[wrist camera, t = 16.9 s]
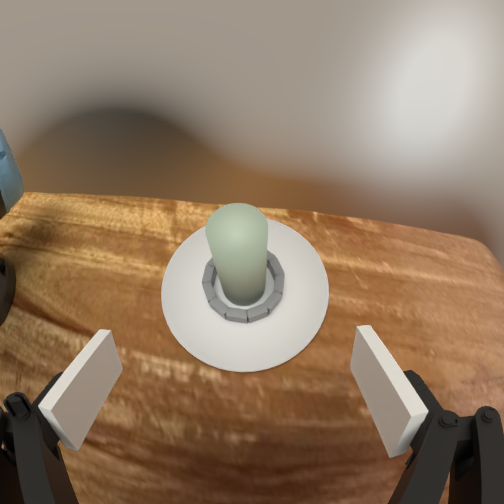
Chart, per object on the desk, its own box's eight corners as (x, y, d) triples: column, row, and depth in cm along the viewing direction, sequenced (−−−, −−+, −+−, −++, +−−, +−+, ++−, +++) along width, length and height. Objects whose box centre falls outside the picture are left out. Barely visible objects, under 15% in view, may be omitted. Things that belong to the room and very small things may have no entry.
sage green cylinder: (218, 303, 32) (198, 250, 22) (226, 264, 34) (213, 200, 24) (262, 309, 32) (264, 258, 21) (267, 269, 34) (271, 206, 23)
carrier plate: (147, 353, 30) (136, 348, 27) (187, 214, 40) (182, 200, 37) (319, 381, 28) (326, 379, 25) (328, 230, 38) (333, 216, 35)
